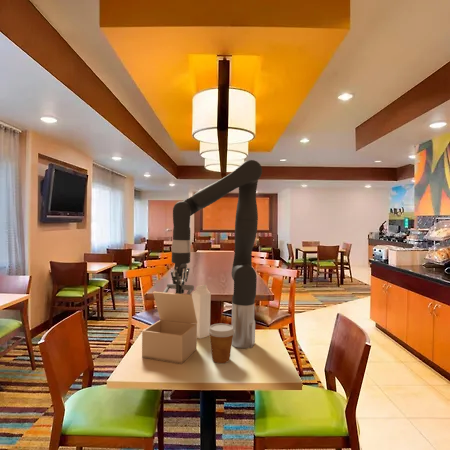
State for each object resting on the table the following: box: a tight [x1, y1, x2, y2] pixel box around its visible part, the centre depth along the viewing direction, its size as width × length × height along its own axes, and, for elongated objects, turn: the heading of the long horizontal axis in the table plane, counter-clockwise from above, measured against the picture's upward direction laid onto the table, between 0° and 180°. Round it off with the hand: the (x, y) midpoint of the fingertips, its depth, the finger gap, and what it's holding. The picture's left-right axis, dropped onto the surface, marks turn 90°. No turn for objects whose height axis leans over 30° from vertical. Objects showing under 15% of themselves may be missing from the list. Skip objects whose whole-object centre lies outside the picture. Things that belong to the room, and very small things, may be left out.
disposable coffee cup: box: [208, 323, 234, 364], centre depth 125 cm, size 10×10×12 cm
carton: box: [141, 319, 198, 365], centre depth 130 cm, size 16×14×10 cm
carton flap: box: [152, 282, 197, 324], centre depth 137 cm, size 16×14×9 cm
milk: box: [191, 284, 212, 340], centre depth 149 cm, size 6×6×22 cm
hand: (179, 293), depth 138 cm, fingers closed on carton flap, 2 cm apart
